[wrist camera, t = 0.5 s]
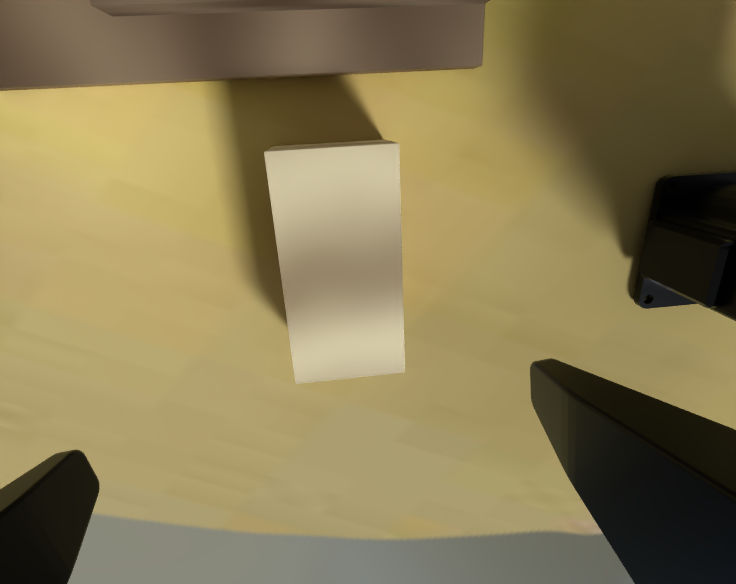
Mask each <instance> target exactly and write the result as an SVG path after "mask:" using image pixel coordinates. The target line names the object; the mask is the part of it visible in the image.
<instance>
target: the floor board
mask: <svg viewBox="0 0 736 584" xmlns="http://www.w3.org/2000/svg"><path fill="white" fill-rule="evenodd" d="M488 1H489V0H0V91H6V90H27V89H48V88H69V87H91V86H112V85H133V84H154V83H176V82H197V81H218V80H240V79H261V78H282V77H303V76H325V75H346V74H367V73H388V72H410V71H431V70H452V69H473V68H476V67H479V66H482V60H483V37H484V13H485V3H487V2H488Z"/></svg>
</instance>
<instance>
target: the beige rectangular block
mask: <svg viewBox="0 0 736 584" xmlns="http://www.w3.org/2000/svg"><path fill="white" fill-rule="evenodd" d="M264 156H265V163H266V170H267V178H268V185H269V192H270V200H271V207H272V214H273V222H274V229H275V236H276V244H277V251H278V258H279V266H280V273H281V280H282V287H283V295H284V302H285V309H286V317H287V324H288V331H289V339H290V346H291V353H292V361H293V368H294V375H295V382H296V384H300V383H309V382H319V381H328V380H337V379H347V378H356V377H366V376H375V375H384V374H394V373H403V372H405V358H404V318H403V278H402V238H401V198H400V158H399V143H396V142H392V141H388V140H384V139H380V140H364V141H348V142H331V143H315V144H299V145H282V146H274V147H272V148H270V149H268V150H266V151H264Z"/></svg>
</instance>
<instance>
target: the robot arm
mask: <svg viewBox="0 0 736 584" xmlns="http://www.w3.org/2000/svg"><path fill="white" fill-rule="evenodd" d="M670 183H671V187H670V189H669V190H668V191H667V186H668V185H669V184H670ZM647 295H648V297H647V299H646V300H644V298H645V297H646V296H647ZM634 302H635V304H637V305H639V306H640V307H642V308H646V309H647V308H658V307H668V306H678V305H689V304H700V305H702V306H704V307H706V308H709V309H712V310H714V311H716V312H718V313H720V314H722V315H724V316H726V317H728V318H730V319H732V320H735V321H736V171H721V172H707V173H693V174H679V175H667V176H664V177H662V178H661V179H660V180H659V181H658V182H657V184H656V187H655V192H654V197H653V202H652V207H651V212H650V217H649V222H648V228H647V233H646V238H645V243H644V248H643V253H642V258H641V263H640V269H639V274H638V279H637V284H636V289H635V294H634ZM530 382H531V400H532V404H533V407H534V409H535V411H536V413H537V415H538V417H539V419H540V422H541V424H542V426H543V428H544V430H545V432H546V434H547V436H548V438H549V440H550V442H551V444H552V446H553V448H554V450H555V452H556V454H557V456H558V458H559V461H560V463H561V465H562V467H563V468H564V470H565V472H566V474H567V476H568V478H569V480H570V481H571V483H572V485H573V486H574V488H575V490H576V491H577V493H578V494H579V496H580V498H581V499H582V501H583V502H584V504H585V505H586V507H587V509H588V510H589V512H590V513H591V515H592V517H593V518H594V520H595V521H596V523H597V524H598V526H599V528H600V529H601V531H602V532H603V534H604V536H605V537H606V539H607V540H608V542H609V543H610V545H611V546H612V548H613V550H614V551H615V553H616V554H617V556H618V558H619V559H620V561H621V563H622V564H623V566H624V567H625V569H626V570H627V572H628V574H629V575H630V577H631V578H632V580H633V582H634V583H635V584H736V430H735V429H732V428H730V427H727V426H725V425H722V424H719V423H717V422H714V421H712V420H709V419H707V418H704V417H701V416H699V415H696V414H694V413H691V412H689V411H686V410H684V409H681V408H678V407H676V406H673V405H671V404H668V403H666V402H663V401H660V400H658V399H655V398H653V397H650V396H648V395H645V394H643V393H640V392H637V391H635V390H632V389H630V388H627V387H625V386H622V385H619V384H617V383H614V382H612V381H609V380H607V379H604V378H602V377H599V376H596V375H594V374H591V373H589V372H586V371H584V370H581V369H578V368H576V367H573V366H571V365H568V364H566V363H563V362H561V361H558V360H555V359H545V360H540V361H534V362H533V363H532V364H531V367H530ZM98 493H99V481H98V478H97V476H96V474H95V473H94V471H93V469H92V467H91V465H90V463H89V462H88V460H87V458H86V456H85V454H84V453H83V452H82V451H80V450H71V451H66V452H60V453H57V454H54V455H53V456H51V457H50V458H48V459H46V460H45V461H43V462H42V463H40V464H39V465H37V466H36V467H34V468H33V469H31V470H30V471H28V472H26V473H25V474H23V475H22V476H20V477H19V478H17V479H16V480H14V481H13V482H11V483H9V484H8V485H6V486H5V487H3V488H2V489H0V584H67V583H68V581H69V578H70V576H71V573H72V571H73V568H74V565H75V562H76V560H77V556H78V553H79V551H80V548H81V545H82V542H83V539H84V536H85V533H86V530H87V527H88V523H89V521H90V518H91V515H92V512H93V509H94V506H95V503H96V500H97V497H98Z"/></svg>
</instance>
